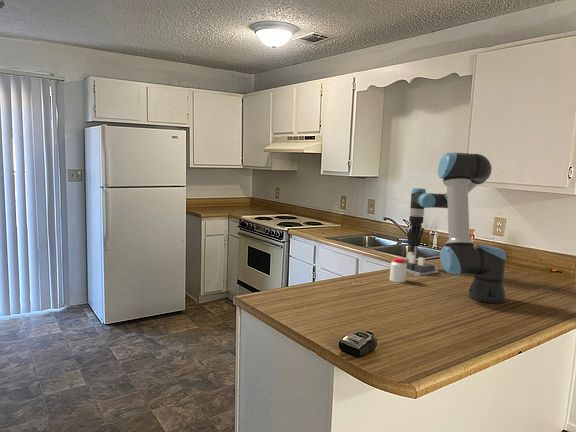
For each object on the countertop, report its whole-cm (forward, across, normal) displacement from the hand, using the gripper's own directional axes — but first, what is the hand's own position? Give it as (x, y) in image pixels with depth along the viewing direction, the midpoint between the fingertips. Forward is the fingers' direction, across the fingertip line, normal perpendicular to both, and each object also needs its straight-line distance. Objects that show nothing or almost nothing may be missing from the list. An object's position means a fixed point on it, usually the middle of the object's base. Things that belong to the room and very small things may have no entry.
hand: (413, 257), depth 247 cm
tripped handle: (+1, +2, 0) cm, 3 cm away
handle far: (+1, +8, +12) cm, 15 cm away
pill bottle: (+6, +32, +16) cm, 36 cm away
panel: (+6, +5, +6) cm, 10 cm away
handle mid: (+1, +8, +6) cm, 10 cm away
